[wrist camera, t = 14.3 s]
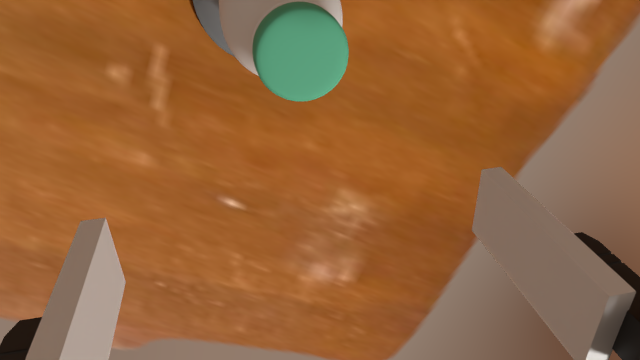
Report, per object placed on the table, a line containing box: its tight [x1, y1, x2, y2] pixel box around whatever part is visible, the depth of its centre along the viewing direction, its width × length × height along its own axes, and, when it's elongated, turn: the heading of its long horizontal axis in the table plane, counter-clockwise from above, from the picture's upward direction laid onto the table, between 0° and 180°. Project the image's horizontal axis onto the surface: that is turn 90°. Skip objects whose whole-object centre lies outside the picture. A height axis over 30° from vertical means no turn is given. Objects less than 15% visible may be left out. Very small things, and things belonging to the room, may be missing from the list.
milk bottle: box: [219, 0, 349, 101], centre depth 31 cm, size 8×8×20 cm
